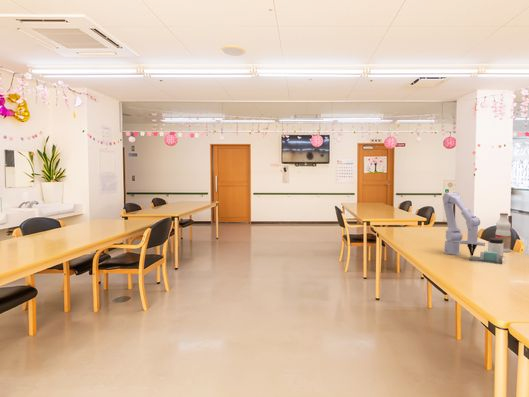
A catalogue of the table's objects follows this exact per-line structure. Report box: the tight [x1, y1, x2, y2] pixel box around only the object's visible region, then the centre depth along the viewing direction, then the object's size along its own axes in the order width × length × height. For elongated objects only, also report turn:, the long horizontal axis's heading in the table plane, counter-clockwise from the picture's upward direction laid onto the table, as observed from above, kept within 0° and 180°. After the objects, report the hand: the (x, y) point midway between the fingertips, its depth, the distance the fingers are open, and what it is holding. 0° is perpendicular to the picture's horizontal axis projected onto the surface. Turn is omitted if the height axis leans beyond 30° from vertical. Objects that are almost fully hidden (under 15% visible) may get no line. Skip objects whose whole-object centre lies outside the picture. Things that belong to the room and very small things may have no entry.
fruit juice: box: [494, 212, 512, 253], centre depth 255 cm, size 9×9×28 cm
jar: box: [487, 237, 504, 258], centre depth 240 cm, size 9×8×12 cm
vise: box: [469, 254, 503, 265], centre depth 228 cm, size 18×10×4 cm, turn 55°
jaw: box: [479, 251, 484, 260], centre depth 229 cm, size 2×8×4 cm, turn 145°
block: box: [483, 250, 497, 261], centre depth 227 cm, size 7×4×5 cm, turn 55°
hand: (471, 255), depth 233 cm, fingers closed
